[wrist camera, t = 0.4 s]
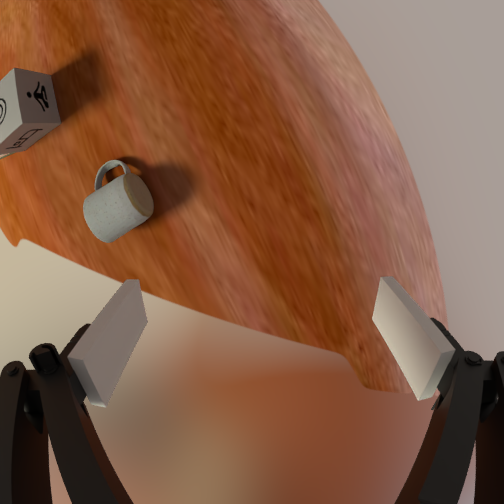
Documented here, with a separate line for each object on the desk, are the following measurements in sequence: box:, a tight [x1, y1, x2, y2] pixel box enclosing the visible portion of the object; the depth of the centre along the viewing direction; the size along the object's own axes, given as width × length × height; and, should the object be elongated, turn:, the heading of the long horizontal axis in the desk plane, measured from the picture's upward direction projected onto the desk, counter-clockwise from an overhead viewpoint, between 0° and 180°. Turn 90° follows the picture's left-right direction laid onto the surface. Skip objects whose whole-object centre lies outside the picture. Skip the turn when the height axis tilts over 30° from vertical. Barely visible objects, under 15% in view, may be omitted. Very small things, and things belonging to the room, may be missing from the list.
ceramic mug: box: [83, 160, 154, 243], centre depth 36 cm, size 11×8×8 cm
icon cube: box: [0, 68, 61, 155], centre depth 29 cm, size 10×10×10 cm
